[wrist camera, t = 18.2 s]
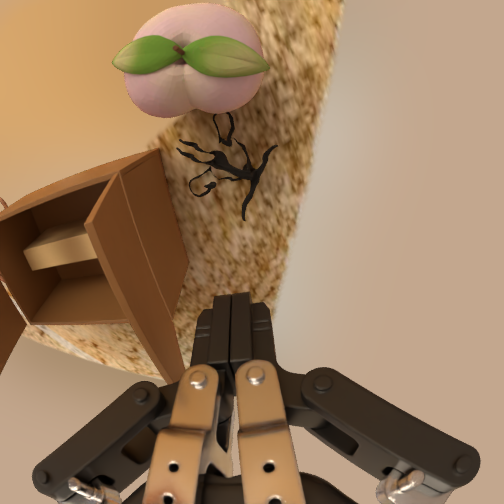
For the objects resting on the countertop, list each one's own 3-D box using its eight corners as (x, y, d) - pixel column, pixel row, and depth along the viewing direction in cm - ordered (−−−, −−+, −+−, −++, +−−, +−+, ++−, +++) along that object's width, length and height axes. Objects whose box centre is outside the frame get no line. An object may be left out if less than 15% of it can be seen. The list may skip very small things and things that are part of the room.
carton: (158, 147, 22) (27, 237, 7) (189, 262, 28) (150, 419, 13) (21, 197, 23) (-79, 280, 8) (57, 281, 28) (-9, 383, 14)
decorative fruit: (260, 24, 16) (272, -26, 8) (261, 111, 21) (274, 114, 12) (149, 34, 16) (95, 1, 8) (150, 119, 20) (94, 131, 12)
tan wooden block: (54, 247, 26) (32, 270, 21) (47, 228, 24) (22, 251, 20) (157, 224, 25) (140, 250, 21) (150, 200, 24) (131, 223, 19)
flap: (113, 174, 14) (118, 172, 14) (170, 325, 20) (173, 324, 20) (83, 224, 7) (92, 221, 7) (196, 423, 12) (201, 422, 12)
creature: (173, 181, 24) (251, 215, 25) (143, 195, 20) (237, 237, 20) (200, 102, 21) (286, 134, 21) (174, 96, 16) (282, 135, 16)
